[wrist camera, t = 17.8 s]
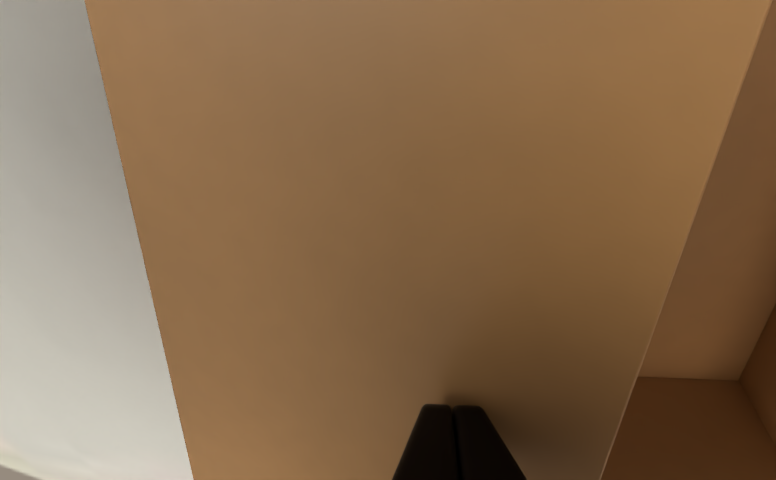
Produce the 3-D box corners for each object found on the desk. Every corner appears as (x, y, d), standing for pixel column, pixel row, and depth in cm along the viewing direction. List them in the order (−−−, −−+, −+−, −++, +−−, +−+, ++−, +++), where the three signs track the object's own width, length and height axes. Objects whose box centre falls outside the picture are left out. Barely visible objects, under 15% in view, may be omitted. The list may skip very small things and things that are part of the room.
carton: (259, 360, 21) (216, 527, 16) (192, -234, 12) (54, -251, 7) (740, 380, 21) (838, 552, 16) (1025, -202, 12) (1425, -197, 7)
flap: (217, 543, 16) (210, 553, 16) (49, -245, 7) (26, -248, 7) (523, 688, 14) (519, 704, 13) (849, -227, 5) (854, -229, 4)
